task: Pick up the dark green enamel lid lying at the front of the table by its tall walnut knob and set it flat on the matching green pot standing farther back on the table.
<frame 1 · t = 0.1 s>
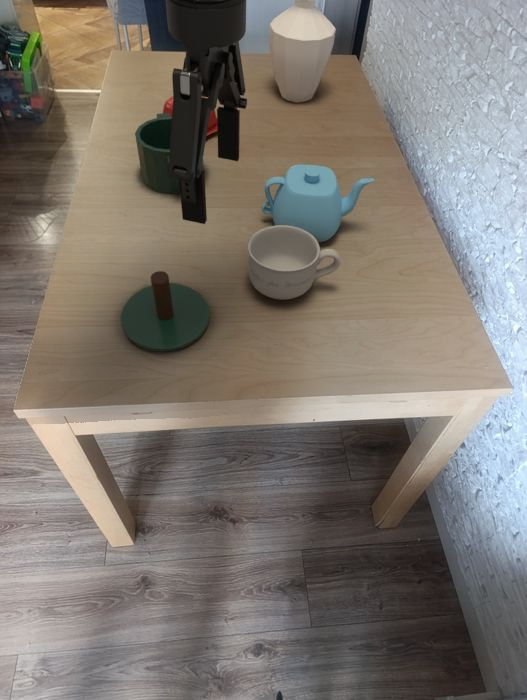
hand: (212, 187, 63), 19 cm above the table, tool pointing down, fingers open, 13 cm apart
pot lid: (165, 316, 74), point 1 cm above the table
butter dish: (190, 130, 107), on the table
teacup: (289, 287, 80), on the table
vase: (296, 94, 119), on the table
teapot: (311, 225, 90), on the table
pot: (172, 175, 96), on the table
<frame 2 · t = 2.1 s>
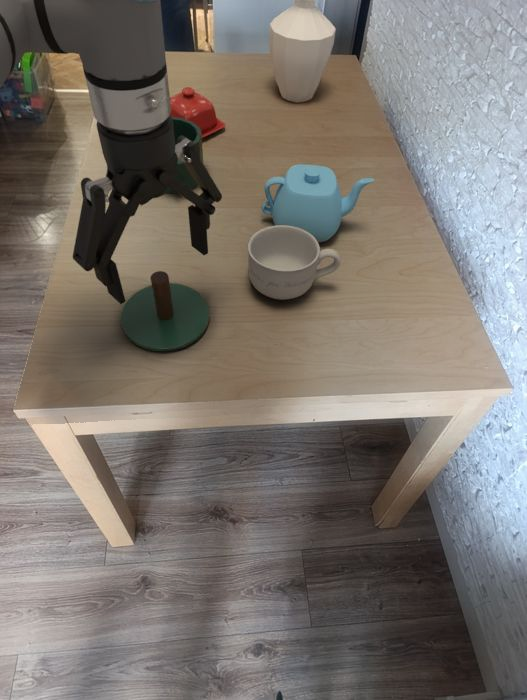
hand: (160, 272, 67), 10 cm above the table, tool pointing down, fingers open, 13 cm apart
nothing on the table moved.
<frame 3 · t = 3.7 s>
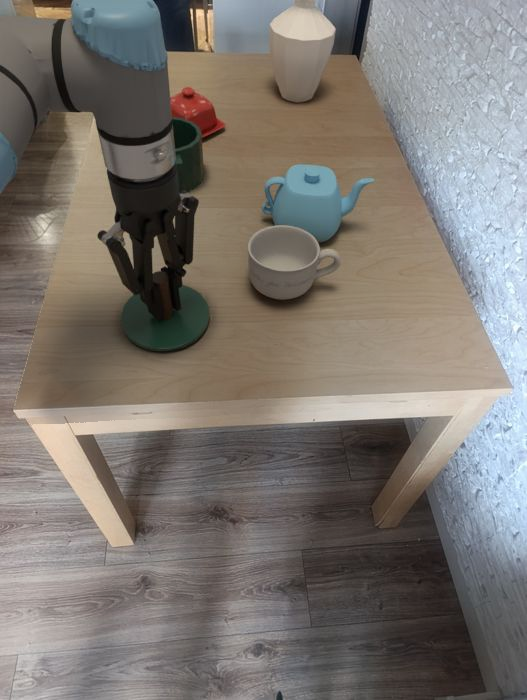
hand: (164, 309, 73), 2 cm above the table, tool pointing down, fingers closed on pot lid, 2 cm apart
pot lid: (165, 316, 74), point 1 cm above the table, touching gripper
everything else where it was.
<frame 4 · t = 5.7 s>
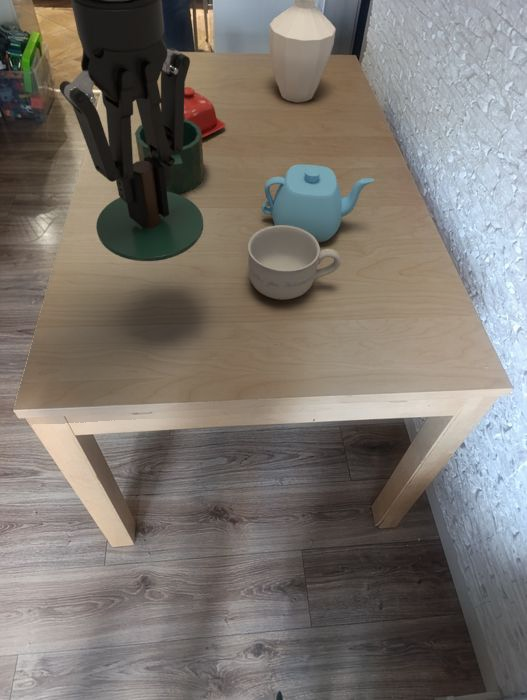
hand: (149, 215, 60), 18 cm above the table, tool pointing down, fingers closed on pot lid, 2 cm apart
pot lid: (151, 225, 62), point 17 cm above the table, touching gripper
everything else where it was.
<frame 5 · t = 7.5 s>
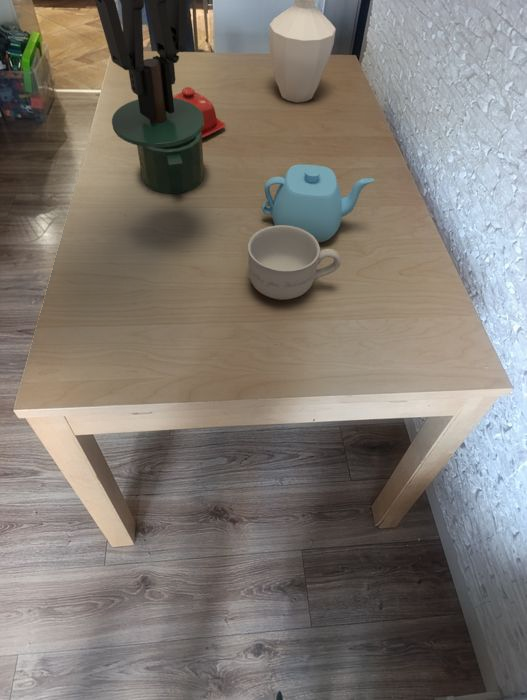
hand: (157, 112, 70), 21 cm above the table, tool pointing down, fingers closed on pot lid, 2 cm apart
pot lid: (158, 122, 71), point 19 cm above the table, touching gripper
everything else where it was.
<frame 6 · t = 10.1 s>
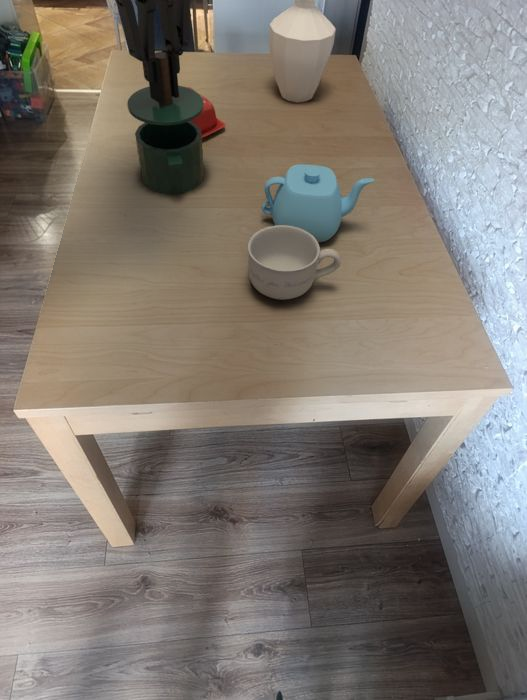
hand: (165, 96, 84), 15 cm above the table, tool pointing down, fingers closed on pot lid, 2 cm apart
pot lid: (166, 105, 86), point 13 cm above the table, touching gripper
everything else where it was.
when the fingers open (10 cm above the table, at t = 11.5 s): pot lid stays where it is, resting on pot.
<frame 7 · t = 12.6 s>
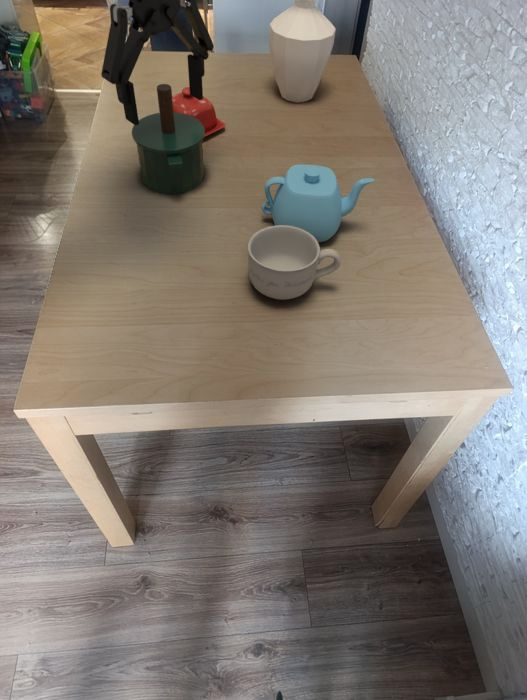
hand: (165, 108, 86), 13 cm above the table, tool pointing down, fingers open, 13 cm apart
pot lid: (168, 133, 90), point 8 cm above the table, touching pot
everything else where it was.
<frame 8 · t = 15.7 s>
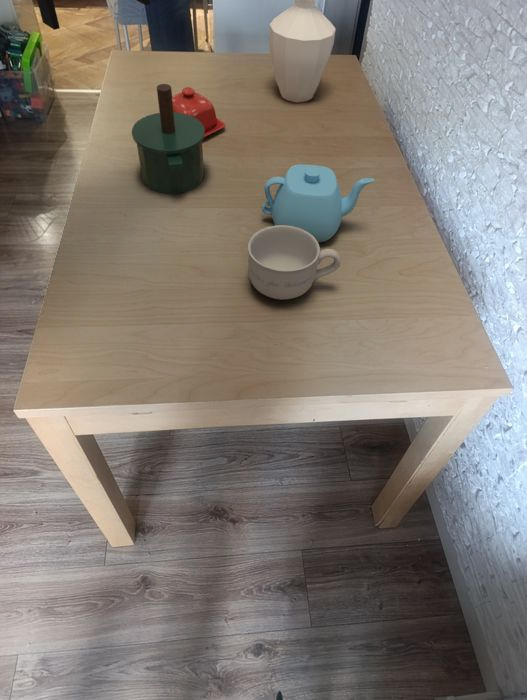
hand: (98, 13, 65), 31 cm above the table, tool pointing down, fingers open, 13 cm apart
nothing on the table moved.
at the end: pot lid 0.1 cm off-centre on the pot, point 8.5 cm above the pot's base; pot lid tilted 0° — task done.
